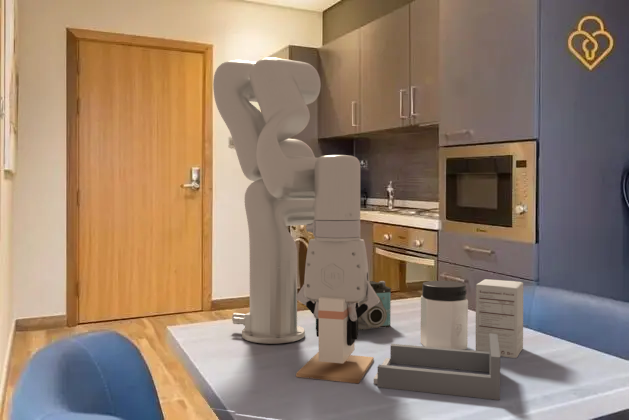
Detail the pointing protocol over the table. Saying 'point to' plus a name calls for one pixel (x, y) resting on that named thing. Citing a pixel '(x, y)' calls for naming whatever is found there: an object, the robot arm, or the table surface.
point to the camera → (377, 308)
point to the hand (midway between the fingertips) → (337, 341)
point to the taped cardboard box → (333, 330)
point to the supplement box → (500, 315)
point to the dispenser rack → (443, 379)
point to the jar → (444, 315)
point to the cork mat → (336, 369)
